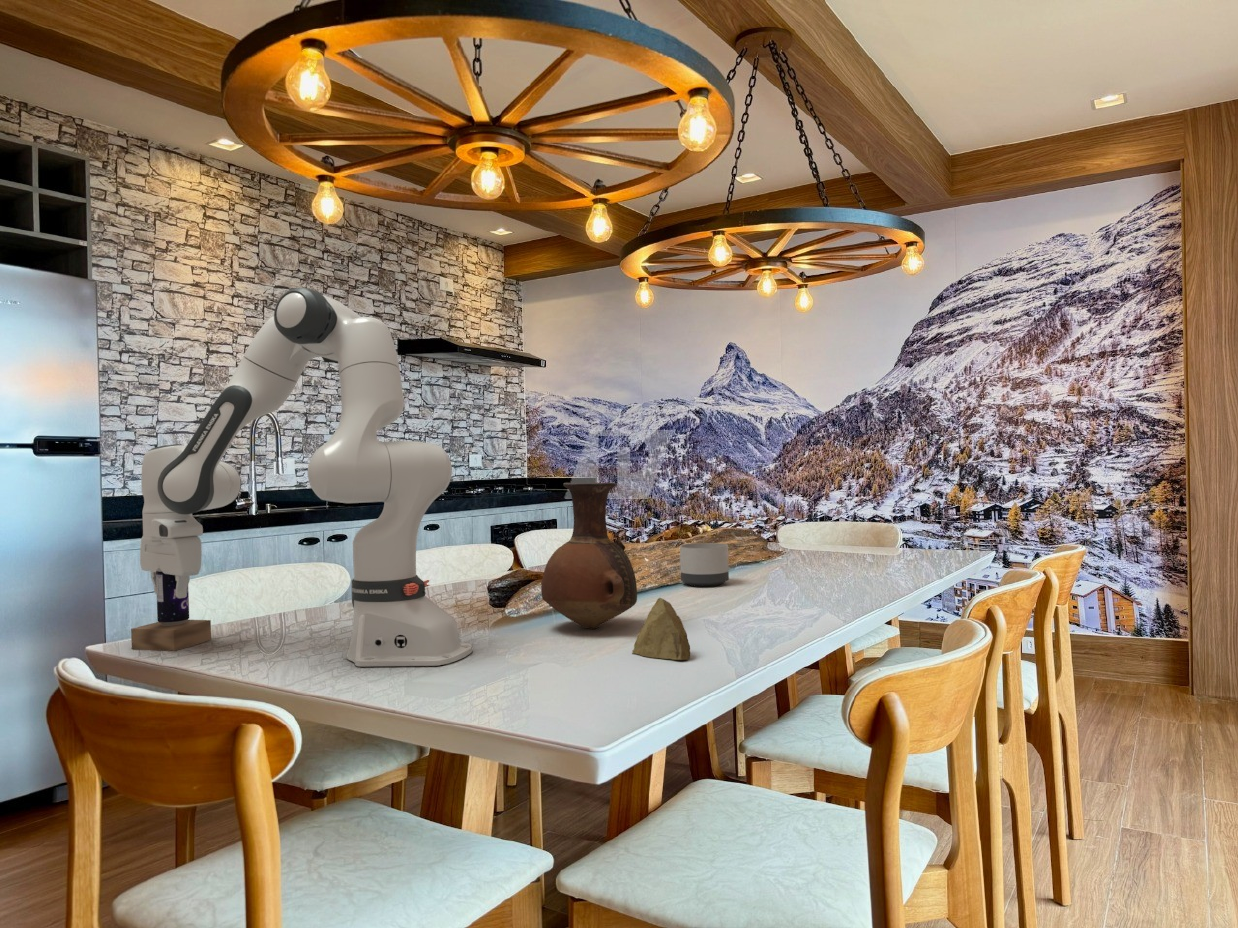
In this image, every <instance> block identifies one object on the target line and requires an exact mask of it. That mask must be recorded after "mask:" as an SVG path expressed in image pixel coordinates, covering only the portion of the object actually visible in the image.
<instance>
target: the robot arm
mask: <svg viewBox="0 0 1238 928" xmlns="http://www.w3.org/2000/svg"><path fill="white" fill-rule="evenodd" d="M316 358H321V359H322V360H323V361H324V362H325V363H331V364H332V363H333V364H337V365H338V375H339V376H338V377H339V385H340V394H341V395H340V399H341V414H340V419H339V422H338V425H337V428H336V429H335V431H334V433H333V434H332V435H331V437H330V438H329V439H328V440H327V441H326V442H325V443H324V444H322V445H321V446H319V447H318V448H317V449H316V450H315V451H314V453H313V455H312V456H311V458H310V460H309V462H308V467H307V479H308V483H309V486H310V488H311V490H312V491H313V492H314V494H315V495H316V496H317V497H318V498H319V499H320V500H321V501H327V502H333V503H343V504H359V503H360V504H361V503H362V504H363V503H378V502H379V503H380V502H382V503H384V504H383V509H382V512H381V513H380V515H379V517H378V518H376V519H375V520H372V521H370V522H369V523H367V524H365V525H364V526H362V527H361V528H360V529H359V530H358V531H357V533H356V534H355V535H354V538H353V540H352V555H353V556H352V560H353V562H352V563H353V578H352V579H351V602H352V607H353V617H352V618H353V619H352V627H351V635H350V636H351V637H350V641H349V647H348V650H347V654H346V659H347V660H348V661H351V662H353V663H354V665H355V666H356V667H424V666H425V667H430V666H433V667H435V666H441V665H443V666H444V665H447V664H451V663H453V662H457V661H460V660H461V659H463V658H465V657H467V656H469V655H470V654H471V653H472V652H473V649H474V648H473V644H472V643H468V642H461V637H460V636H461V635H460V629H459V627H458V626H459V625H458V623H457V620H456V619H455V618H454V616H452V614H450V613H448V612H447V611H446V610H445V609H444V608H442V607H441V606H439V605H438V604H437V603H435V602H434V601H433V600H431V599H430V598H429V597H428V596H426V595H427V593H426V588H427V587H429V586H431V585H430V584H429V582H430V580H429V579H427V580H423V579H422V578H420V576H419V575H417V543H418V542H417V540H418V539H417V538H418V532H419V529H420V525H421V522H422V519H423V517H424V516H425V514H426V512H427V510H428V509H429V507H430V506H431V505H432V503H434V501H435V500H436V499H437V498H438V497H440V496H441V495H442V494H443V493H445V491H446V489H447V488H448V486H449V485H450V483H451V480H452V475H453V473H452V472H453V467H452V461H451V459H450V457H449V455H448V453H447V452H446V451H445V449H444V448H443V447H442V446H441V445H438V444H434V443H429V442H422V441H417V440H410V441H409V440H407V441H406V440H405V441H404V440H403V441H381V440H378V437H377V436H378V434H377V432H378V431H379V430H381V429H383V428H385V427H387V426H389V425H391V424H392V423H394V422H395V421H397V420H398V419H399V418H400V417H401V415H402V414H403V411H404V408H405V400H404V399H405V398H404V393H403V387H402V386H403V385H402V377H401V370H400V369H401V368H400V362H399V359H398V355H397V350H396V346H395V342H394V340H393V336H392V334H391V332H390V329H389V327H388V325H386V324H385V323H384V321H382V320H380V319H378V318H375V317H371V316H363V315H361V314H359V313H356V312H355V311H354V310H353V309H351V308H349V306H346V305H345V304H344V303H342V302H340V301H339V300H337V299H334V298H332V297H330V296H328V295H324V294H322V293H320V292H319V291H318V290H315V289H312V288H311V289H310V288H307V287H294V288H291V289H289V290H287V291H285V292H284V293H283V294H282V295H281V296H280V298H279V300H278V301H277V302H276V305H275V307H274V311H273V316H271V317H269V318H268V319H267V320H266V322H265V323H264V324H263V325H262V327H260V329H259V330H258V332H257V333H256V334H255V335H254V337H253V339H252V340H251V342H250V343H249V345H248V347H247V349H246V350H245V352H244V354H243V356H242V358H241V359H240V361H239V363H238V365H237V367H236V369H235V371H234V372H233V374H232V375H231V377H230V379H229V381H228V383H227V384H226V386H225V387H224V388H223V390H222V391H221V392H220V395H219V396H218V397H217V398H216V400H215V401H214V403H213V404H212V406H211V407H210V408H209V410H208V411H207V413H206V414H205V416H204V418H203V420H202V421H201V423H200V424H199V426H198V427H197V429H196V430H195V432H194V434H193V435H192V437H191V439H189V440H190V441H189V442H188V443H187V444H186V445H185V444H179V443H177V444H168V445H167V444H165V445H160V446H156V447H152V448H151V449H148V450H147V451H146V452H145V453H144V455H143V459H142V464H141V493H142V496H143V502H144V503H143V508H142V537H141V539H140V551H139V553H140V554H139V564H140V568H141V570H142V571H144V572H150V579H151V581H152V584H153V591H154V592H153V593H154V594H155V595H157V590H156V570H157V569H158V568H160V569H161V570H162V572H163V573H164V574H170V575H175V578H176V581H177V584H176V589H174V593H175V594H174V596H175V597H176V598H185V597H186V596H187V587H188V588H189V583H190V578H191V577H190V576H197V575H199V574H200V572H201V568H202V540H201V538H200V536H203V533H204V528H203V525H202V524H201V523H200V522H198V520H197V519H195V517H194V516H193V514H195V513H198V512H201V511H207V510H208V511H209V510H213V509H220V508H223V507H225V506H228V505H230V504H232V503H233V502H235V500H236V499H237V498H238V497H239V494H240V492H241V489H242V480H241V477H240V473H239V472H238V470H237V469H236V468H235V467H234V466H233V465H231V464H230V463H227V462H225V461H223V457H224V456H225V454H226V452H227V450H228V449H229V448H230V446H231V444H232V443H233V441H234V439H235V438H236V436H237V434H238V433H239V432H240V431H241V430H242V429H243V428H244V427H245V426H247V425H248V424H249V423H251V422H252V421H254V420H256V419H259V418H261V417H262V416H265V415H267V414H271V413H274V412H275V411H277V410H279V409H280V408H281V407H282V406H283V405H284V403H285V402H286V401H287V399H288V398H289V396H291V394H292V392H293V390H294V389H295V387H296V384H297V383H298V382H299V379H300V378H301V376H302V373H303V371H304V368H305V367H306V366H307V364H308V363H309V362H310V360H314V359H316ZM221 460H222V461H221Z"/></svg>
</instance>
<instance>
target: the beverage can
mask: <svg viewBox="0 0 1238 928" xmlns="http://www.w3.org/2000/svg"><path fill="white" fill-rule="evenodd" d="M176 584H177V581H176V578H175V575H170V574H164V573H163V572H162V570H161V569H160V568H158V569H157V570H156V590H157V594H156V613H157V614H156V615H157V617H156V618H157V619H156V621H157V622H159V623H161V624H162V625H163V626H174V625H180V624H184V623H185V622H186V621H187V620H190V597H189V594H190V593H189V586H188V587H187V596H186V597H185V598H176V597H175V596H174V594H175V593H174V589H176Z"/></svg>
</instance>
